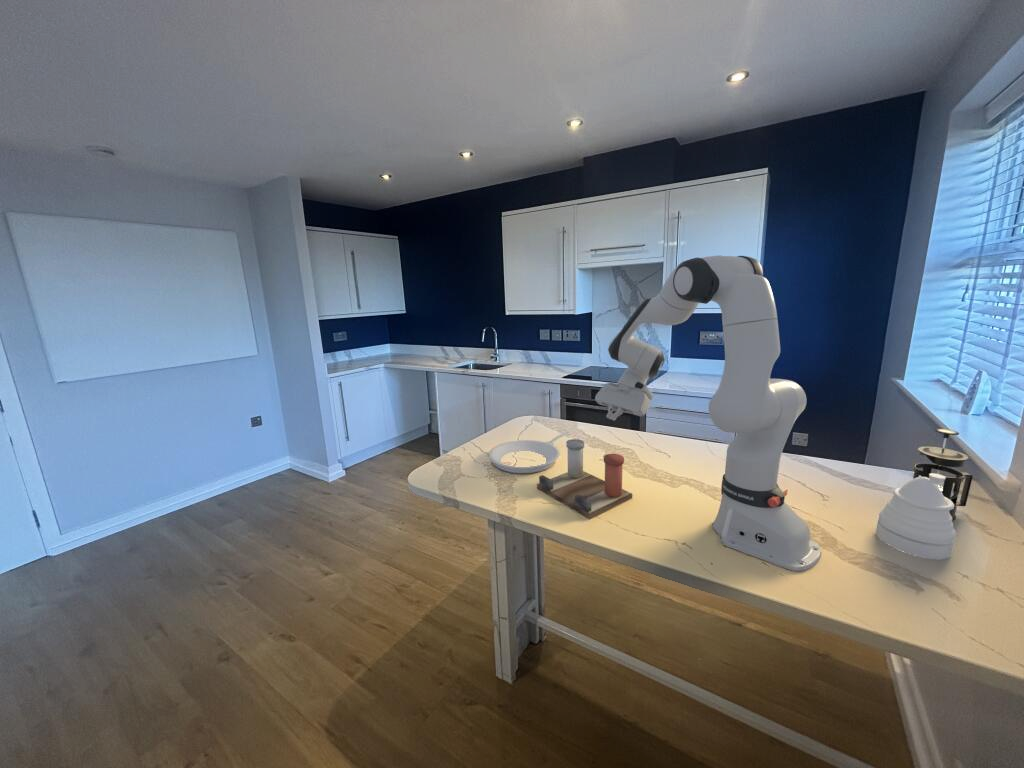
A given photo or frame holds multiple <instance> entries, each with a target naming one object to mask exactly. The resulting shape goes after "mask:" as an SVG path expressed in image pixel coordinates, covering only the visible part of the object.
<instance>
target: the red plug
mask: <svg viewBox="0 0 1024 768" xmlns="http://www.w3.org/2000/svg"><path fill="white" fill-rule="evenodd" d="M603 462H604V481H605V494H606V495H608V496H612V497H617V496H620V495H621V494H622V489H623V464H624V463H625V457H624V456H623V455H621V454H618V453H607V454H605V455H603Z"/></svg>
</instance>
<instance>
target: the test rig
mask: <svg viewBox="0 0 1024 768" xmlns="http://www.w3.org/2000/svg"><path fill="white" fill-rule="evenodd" d="M538 480H539V482H538V483H536V489H537V490H539V491H540V492H543V493H544V494H546V495H547V496H549V497H551V498H552V499H554V500H556V501H558V502H560V503H561V504H563V505H564V506H567V507H568V508H569V509H571V510H573V511H575V512H576V513H578V514H580V515H581V516H582V517H583V516H584V517H585V518H587V519H589V520H591V519H593V518H595V517H597V516H600V515H602V514H603V513H605V512H608V511H610V510H611V509H614V508H616V507H618V506H620V505H622V504H624V503H626V502H627V501H630V500H632V499H633V493H632V492H629V491H628V490H626V489H624V488H622V494H621V495H620V496H617V497H612V496H608V495H606V494H605V479H601V478H599V477H596V476H595V475H593V474H591V473H589V472H586V471H584V470H583V476H582V477H579V478H573V477H570V476H568V471H567V472H565V473H562V474H559V475H557V476H554V477H552V478H549V477H547V476H545V475H543V474H542V475H539V478H538Z"/></svg>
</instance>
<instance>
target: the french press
mask: <svg viewBox="0 0 1024 768" xmlns="http://www.w3.org/2000/svg"><path fill="white" fill-rule="evenodd" d="M935 432H937V433H940V434H942V435H943V436H942V437H943V438H944V440H943V444H942V447H938V446H919V447H917V451H918V452H919V455H920V456H925V457H927V459H928V460H929V461H931V462H932V463H927V462H922V463H921V462H920V463H916V464H914V469H913V476H912V477H913V478H912V479H914V478H917V477H927V478H929V474H930V473H932V470H937V472H936V474H940V471H943V472H946V473H949V474H952V475H955V477H946V476H945V477H946V479H945V481H944V482H943V486H942V485H940V484H937V486H938V487H939V489H940V490H941V492H942V494H943V496H944V497H946V498H948V499H949V500H951V501H952V502H953V504H954V509H952V510H950V511H949V512H950V515H951V517H952V522H953V521H955V520H956V517H957V516H956V513H957V508H958V507H966V506H967V501H968V498H969V494H970V490H971V486H972V481H973V475H972V474H970V473H969V472H964V471H960V470H958V469H956V468H962V467H964V466H965V462H966V461H968V460H969V456H968V455H967V454H965V453H963V452H960V451H957V450H952V449H950V448H945V447H946V443H947V439H949V438H950V436H958V435H960V433H959V432H958V431H956V430H952V429H947V428H936V429H935ZM921 469H922V470H921ZM929 479H930V478H929ZM963 482H964V483H963ZM962 483H963V488H962V491H961V494H960V488H961V484H962ZM959 494H960V495H961V496H960V499H959V501H958V497H959Z"/></svg>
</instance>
